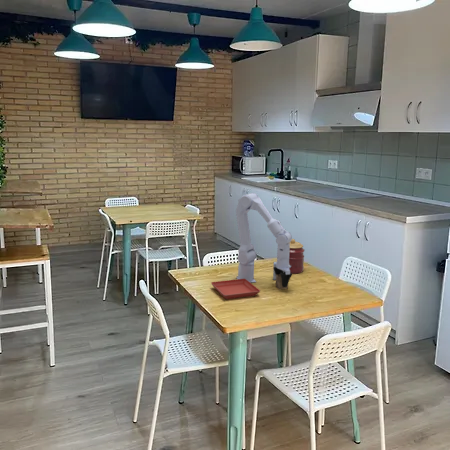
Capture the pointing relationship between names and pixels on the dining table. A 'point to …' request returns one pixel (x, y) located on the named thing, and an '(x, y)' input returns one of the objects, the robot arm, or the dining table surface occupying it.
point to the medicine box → (274, 272)
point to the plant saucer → (235, 288)
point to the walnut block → (279, 282)
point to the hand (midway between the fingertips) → (281, 284)
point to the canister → (296, 257)
